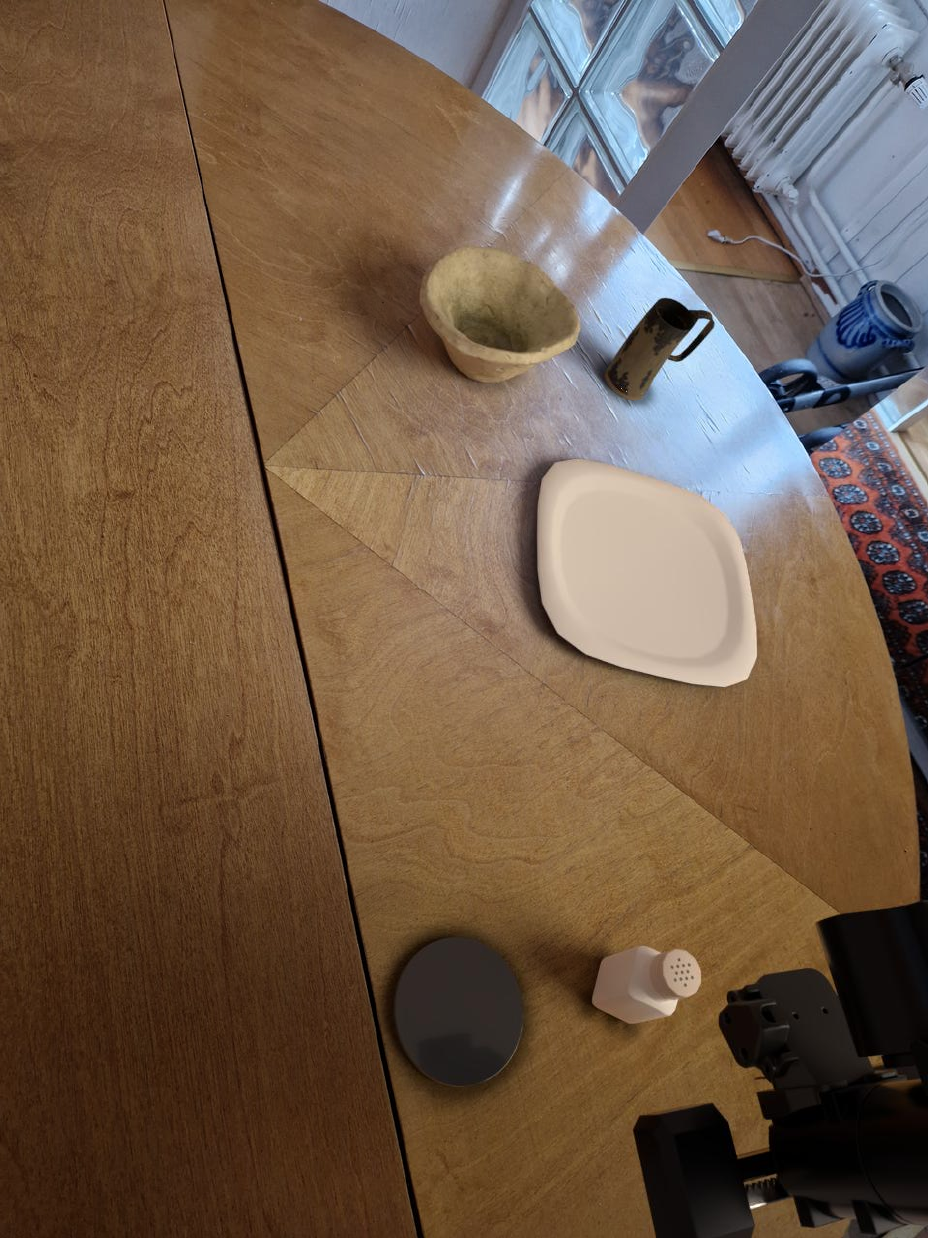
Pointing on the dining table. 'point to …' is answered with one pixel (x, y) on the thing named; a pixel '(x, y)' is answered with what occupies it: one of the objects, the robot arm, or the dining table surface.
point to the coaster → (458, 1012)
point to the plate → (644, 575)
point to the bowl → (496, 312)
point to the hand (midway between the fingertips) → (712, 1150)
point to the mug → (654, 346)
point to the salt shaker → (645, 983)
